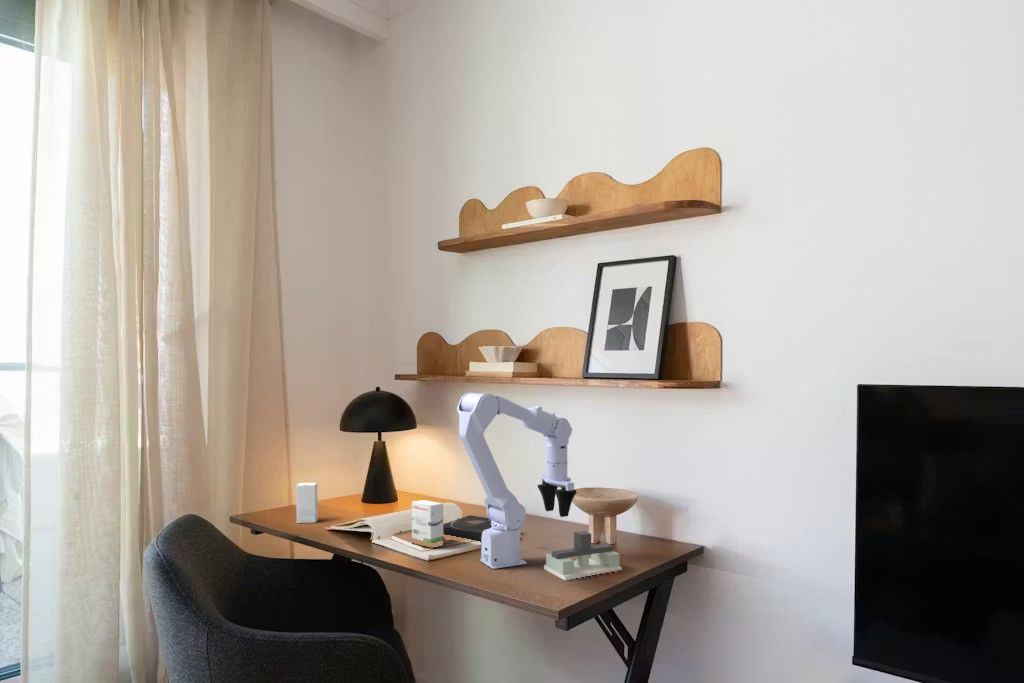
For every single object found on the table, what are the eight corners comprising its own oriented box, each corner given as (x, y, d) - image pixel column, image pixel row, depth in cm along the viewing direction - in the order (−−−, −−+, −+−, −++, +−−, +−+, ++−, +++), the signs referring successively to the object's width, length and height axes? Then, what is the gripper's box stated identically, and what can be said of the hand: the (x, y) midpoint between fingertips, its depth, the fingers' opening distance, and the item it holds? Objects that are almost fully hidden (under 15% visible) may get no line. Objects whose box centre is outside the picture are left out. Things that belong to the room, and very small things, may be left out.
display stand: (565, 580, 159) (565, 563, 159) (544, 569, 168) (544, 552, 168) (621, 571, 166) (621, 554, 166) (598, 560, 175) (598, 544, 175)
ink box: (444, 546, 189) (444, 502, 190) (430, 549, 186) (430, 505, 186) (424, 540, 195) (424, 498, 195) (410, 543, 191) (410, 501, 192)
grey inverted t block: (557, 559, 162) (557, 538, 162) (551, 556, 165) (551, 535, 165) (613, 551, 169) (613, 530, 170) (606, 548, 172) (606, 528, 172)
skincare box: (318, 520, 220) (318, 482, 221) (315, 523, 216) (316, 484, 216) (298, 520, 219) (298, 482, 220) (295, 523, 215) (295, 484, 215)
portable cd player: (467, 528, 212) (467, 515, 212) (515, 535, 203) (515, 521, 203) (435, 539, 197) (435, 526, 198) (485, 548, 189) (485, 533, 189)
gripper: (584, 464, 178) (584, 517, 178) (555, 457, 191) (555, 507, 191) (560, 466, 175) (560, 520, 175) (533, 459, 188) (533, 509, 188)
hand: (556, 513), depth 183 cm, fingers open, 7 cm apart
